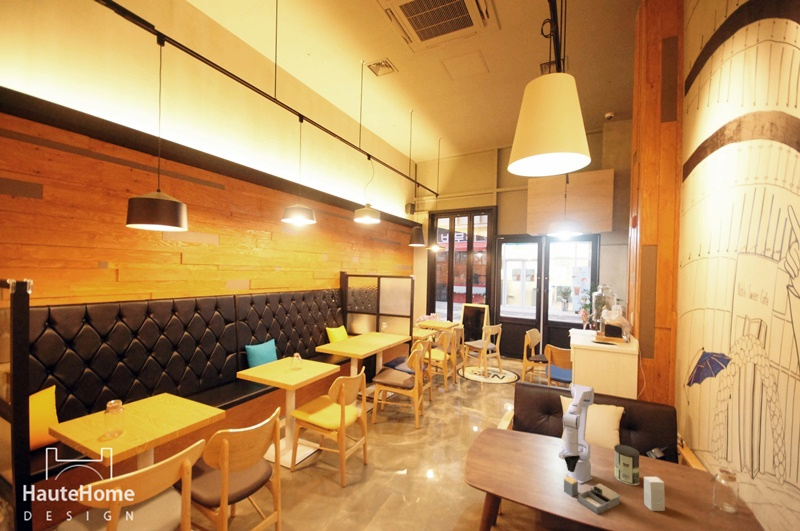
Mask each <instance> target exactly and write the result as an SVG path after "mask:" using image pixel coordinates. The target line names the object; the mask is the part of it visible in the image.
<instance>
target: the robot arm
mask: <svg viewBox="0 0 800 531" xmlns="http://www.w3.org/2000/svg"><path fill="white" fill-rule="evenodd" d="M570 393H571V397H572V402H570V403H569V404H568V407H567V410H566V412H564V413H563V415H562V427H563V430H564V432H563V433H564V435H563V438H564V440H563V441H564V442H563V443H564V444H563V446H562V447H561V448H562V449H561V451H560V452H558V458H560V459H561V460H564V461H565V464H566V468H567V471H568V472H567V473H565V476H566V477H569V476H570V477H572V478H574V479H575V480H577V481H578V484H584V483H586V482H589V481H591V480H593V476H592V463H591V462H590V460H591V445H590V444H589V442H588V441H587V440H586V439H585V438H586V429H587V420H588V419H587V417H588V409H589V406H592V405H593V404H594V398H595V389H594V387H593V386H587V385H582V384H576V383H572V384H571V387H570Z"/></svg>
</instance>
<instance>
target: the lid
mask: <svg viewBox="0 0 800 531" xmlns="http://www.w3.org/2000/svg"><path fill="white" fill-rule="evenodd" d="M590 489H591V490H593V491H595V492H596V493H598V494H597V495H599V496H602V497H603V498H605V499H606V500H608V501H612V500H614V499H616V498H618V497H621V494H620V493H617V492H616V491H614V490H612V489H611V488H609V487H607V486H605V485H603V484H602V483H597V484H595V485H593V486H590V488H589V490H590Z"/></svg>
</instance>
